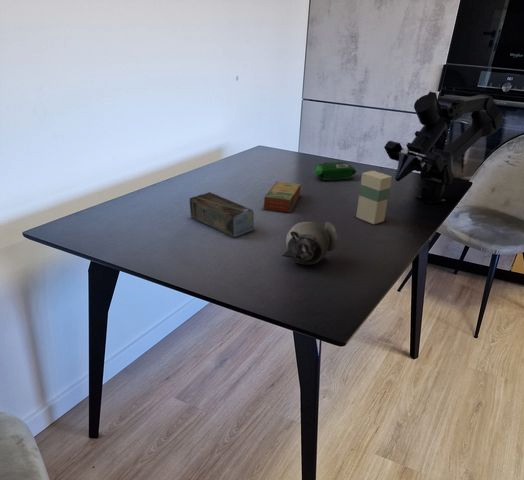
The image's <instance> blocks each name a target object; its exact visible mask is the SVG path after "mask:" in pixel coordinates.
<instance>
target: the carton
mask: <svg viewBox="0 0 524 480" xmlns="http://www.w3.org/2000/svg"><path fill="white" fill-rule="evenodd" d="M301 186H302V185H301V184H300V183H297V182H296V183H294V182H288V181H287V182H286V181H276V182H274V184H273V186H271V188H269V191H268V192H266V194H265V195H264V199H263V210H265V211H272V212H273V211H274V212H280V213H291V212H292V210H293V208H294V207H295V205H296V203H297V201H298V199H299V198H300V197H301Z"/></svg>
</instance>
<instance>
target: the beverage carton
mask: <svg viewBox="0 0 524 480" xmlns="http://www.w3.org/2000/svg"><path fill="white" fill-rule="evenodd" d="M189 210H190V217H191V218H192V219H193V220H196V221H197V222H200V223H202V224H204V225H207V226H209V227H211V228H213V229H215V230H217V231H219V232H221V233H224V234H226V235H228V236H230V237H232V238H237V237H239V236H242V235H244V234H247V233H250V232H252V231H254V229H255V227H254V225H255V219H254V218H255V217H254V215H255V212H254V209H251V208H249V207H246V206H244V205H241V204H240V203H237V202H235V201H232V200H230V199H227V198H225V197H224V196H223V197H222V196H220V195H218V194H216V193H213V192H210V191H209V192H206V193H203V194H199V195H196V196H192V197H190V198H189Z"/></svg>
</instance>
